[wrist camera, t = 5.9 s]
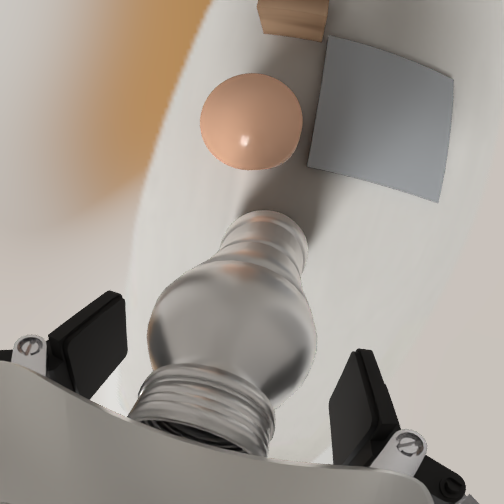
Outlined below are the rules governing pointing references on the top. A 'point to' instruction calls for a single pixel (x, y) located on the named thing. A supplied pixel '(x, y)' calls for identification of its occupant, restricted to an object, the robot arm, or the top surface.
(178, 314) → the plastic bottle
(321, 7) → the copper block
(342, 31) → the top surface
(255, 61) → the top surface
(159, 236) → the top surface
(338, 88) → the slate mat
